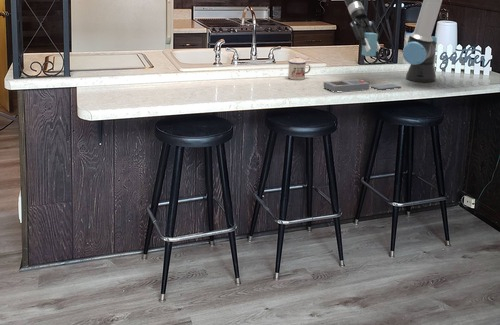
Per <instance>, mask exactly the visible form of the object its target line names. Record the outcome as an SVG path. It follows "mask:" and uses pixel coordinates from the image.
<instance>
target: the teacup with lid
mask: <svg viewBox="0 0 500 325" xmlns="http://www.w3.org/2000/svg"><path fill="white" fill-rule="evenodd" d="M306 66H308V70H307V71H306ZM311 70H312V66H311V65H310V64H308V63H307V61H306V60H305V59H303V58H301V57H300V56H299V55H295V57H294V58H292V59H289V60H288V73H287V74H288V75H287V76H288V77H287V78H288V79H289V78H290V80H293V79H294V81H295V80H296V81H301V79H302V80H305V78H306V74H309V73H310V72H311Z"/></svg>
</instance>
